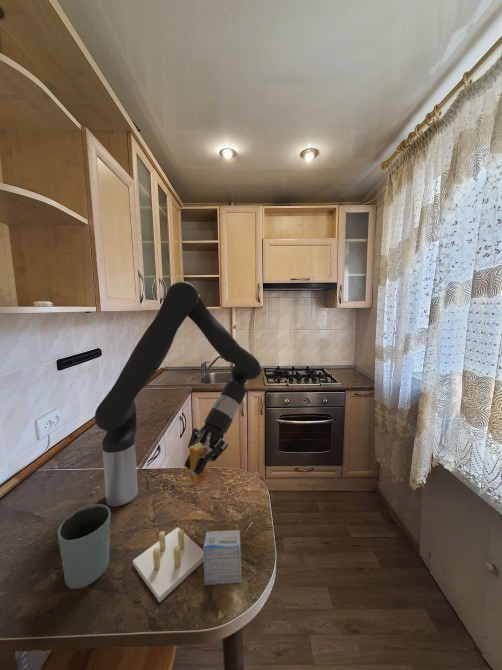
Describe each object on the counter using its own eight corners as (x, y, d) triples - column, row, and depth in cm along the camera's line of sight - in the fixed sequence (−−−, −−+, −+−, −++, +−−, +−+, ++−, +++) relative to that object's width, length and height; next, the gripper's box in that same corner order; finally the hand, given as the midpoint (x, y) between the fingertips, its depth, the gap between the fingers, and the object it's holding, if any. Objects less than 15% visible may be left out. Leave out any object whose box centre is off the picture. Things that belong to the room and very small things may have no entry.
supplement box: (196, 486, 68) (194, 450, 67) (189, 480, 70) (188, 446, 69) (206, 480, 70) (205, 446, 69) (200, 475, 72) (198, 441, 72)
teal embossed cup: (85, 547, 63) (82, 502, 62) (123, 550, 62) (120, 504, 61) (49, 591, 53) (44, 538, 52) (93, 595, 52) (89, 541, 51)
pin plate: (133, 565, 58) (131, 544, 58) (178, 531, 67) (177, 512, 67) (159, 602, 50) (158, 578, 50) (206, 558, 59) (205, 537, 59)
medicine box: (241, 564, 58) (240, 528, 57) (241, 584, 53) (240, 546, 53) (207, 566, 57) (205, 530, 57) (204, 586, 53) (202, 548, 52)
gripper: (200, 402, 79) (168, 456, 70) (232, 413, 70) (199, 476, 61) (214, 413, 83) (184, 465, 75) (245, 424, 74) (216, 485, 66)
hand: (191, 470), depth 68 cm, fingers closed on supplement box, 3 cm apart
